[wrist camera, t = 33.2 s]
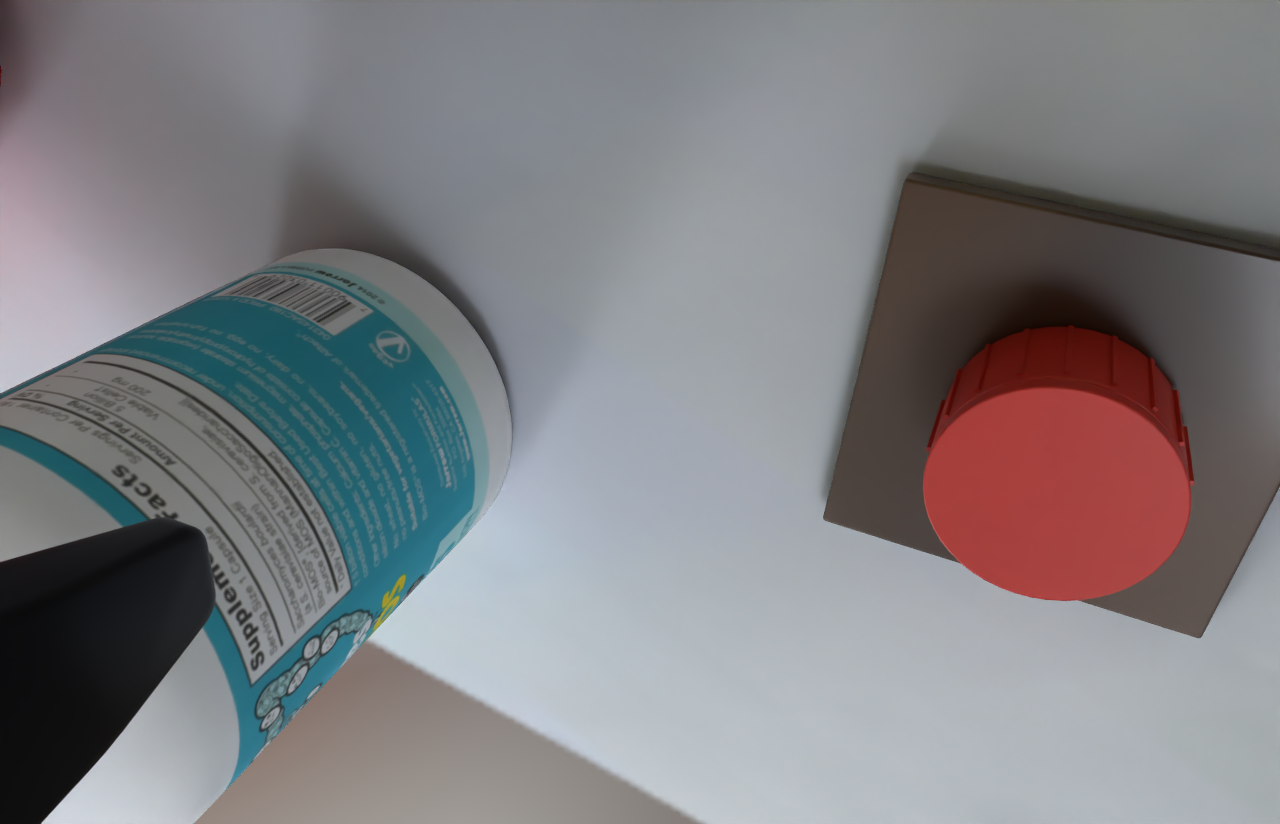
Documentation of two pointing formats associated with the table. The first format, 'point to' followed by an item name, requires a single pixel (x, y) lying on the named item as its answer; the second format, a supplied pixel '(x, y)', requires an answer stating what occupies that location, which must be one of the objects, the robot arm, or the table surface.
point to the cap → (1060, 465)
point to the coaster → (1085, 298)
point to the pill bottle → (261, 492)
